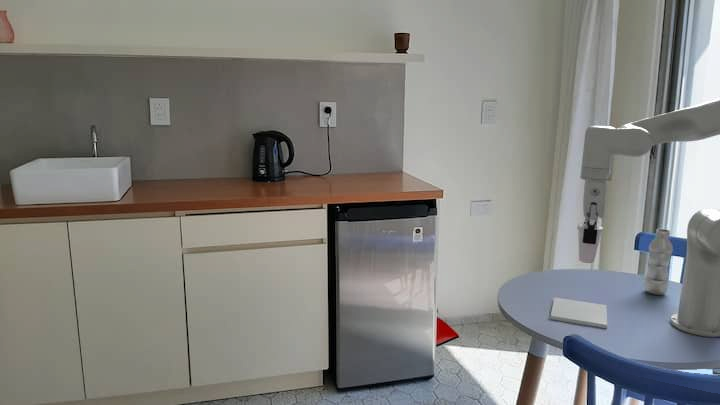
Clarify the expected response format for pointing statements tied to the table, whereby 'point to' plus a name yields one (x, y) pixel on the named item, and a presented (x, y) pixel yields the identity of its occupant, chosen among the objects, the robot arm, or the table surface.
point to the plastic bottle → (658, 263)
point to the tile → (579, 312)
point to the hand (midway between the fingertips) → (588, 239)
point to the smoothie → (588, 245)
